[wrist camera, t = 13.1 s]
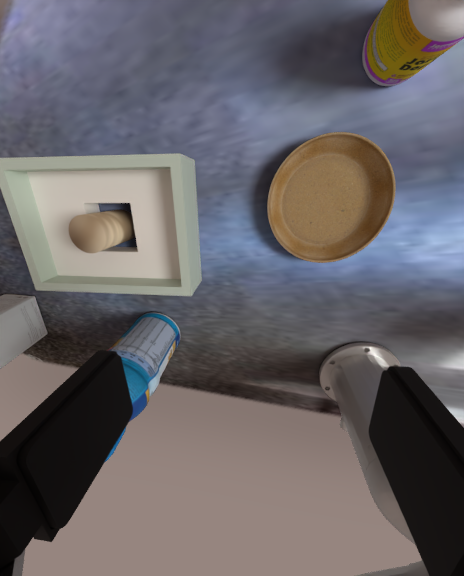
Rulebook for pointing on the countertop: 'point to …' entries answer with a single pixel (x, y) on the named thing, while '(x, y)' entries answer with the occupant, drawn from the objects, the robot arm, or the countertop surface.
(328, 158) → the plant saucer
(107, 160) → the tray
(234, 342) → the countertop surface
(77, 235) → the peg
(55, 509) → the robot arm
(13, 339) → the skincare box
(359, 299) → the countertop surface
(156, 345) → the beverage bottle
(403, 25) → the supplement bottle
